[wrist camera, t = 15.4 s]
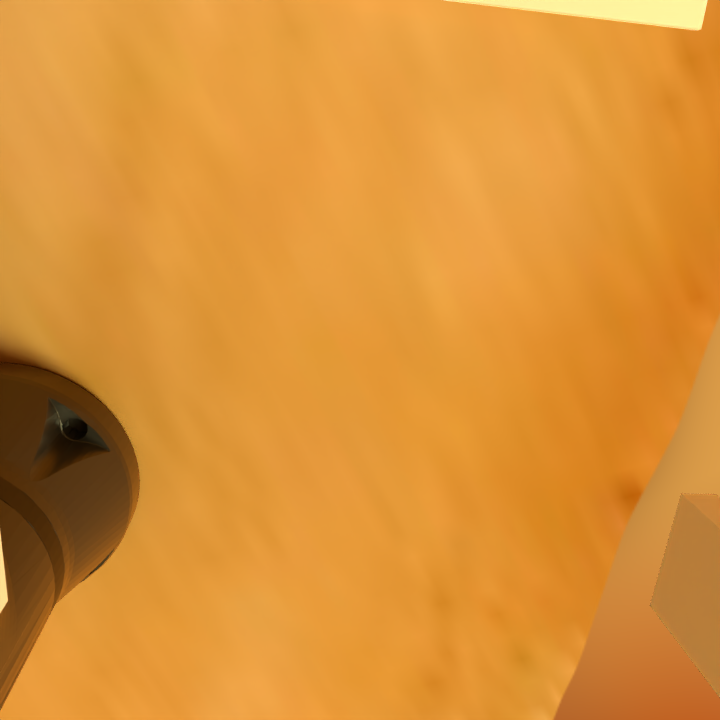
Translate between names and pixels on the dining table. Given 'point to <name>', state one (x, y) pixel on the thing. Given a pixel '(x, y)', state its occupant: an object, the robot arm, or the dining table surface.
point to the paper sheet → (616, 10)
